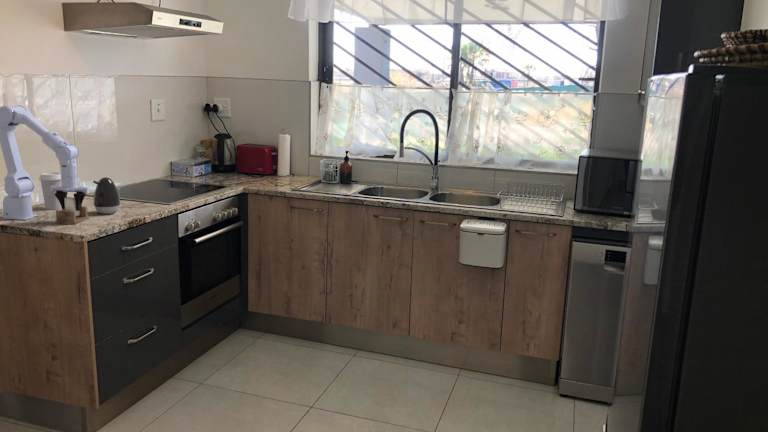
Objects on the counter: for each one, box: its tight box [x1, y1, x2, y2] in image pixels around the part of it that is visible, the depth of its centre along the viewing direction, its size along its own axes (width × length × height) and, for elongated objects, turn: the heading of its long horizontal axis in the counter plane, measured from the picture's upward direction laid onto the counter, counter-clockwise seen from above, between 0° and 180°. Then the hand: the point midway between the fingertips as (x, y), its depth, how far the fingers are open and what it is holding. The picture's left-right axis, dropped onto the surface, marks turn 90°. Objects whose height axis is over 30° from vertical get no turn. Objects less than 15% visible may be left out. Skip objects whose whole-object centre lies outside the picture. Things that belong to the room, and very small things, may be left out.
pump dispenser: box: [92, 176, 121, 215], centre depth 252 cm, size 10×10×15 cm
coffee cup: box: [38, 171, 62, 211], centre depth 257 cm, size 10×10×15 cm
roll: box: [64, 196, 80, 216], centre depth 237 cm, size 5×5×7 cm
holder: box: [54, 205, 90, 226], centre depth 237 cm, size 8×11×6 cm
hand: (71, 210), depth 237 cm, fingers closed on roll, 5 cm apart
